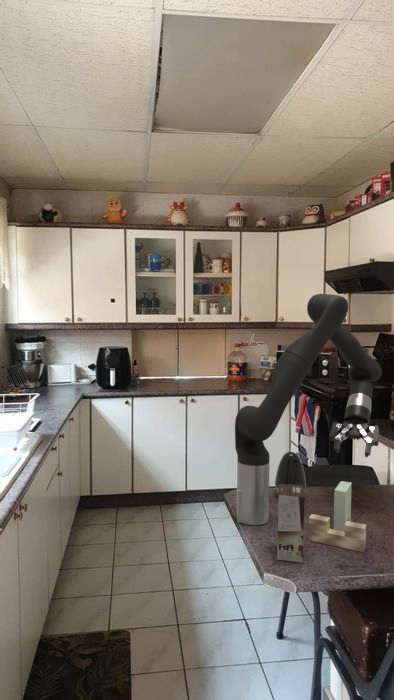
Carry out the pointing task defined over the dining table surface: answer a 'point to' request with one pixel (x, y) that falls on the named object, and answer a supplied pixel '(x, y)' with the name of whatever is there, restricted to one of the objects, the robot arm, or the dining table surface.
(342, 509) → the mint green upright block
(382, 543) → the dining table surface
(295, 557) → the coffee box
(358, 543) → the birch slotted plate
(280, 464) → the dark grey rounded-top part
